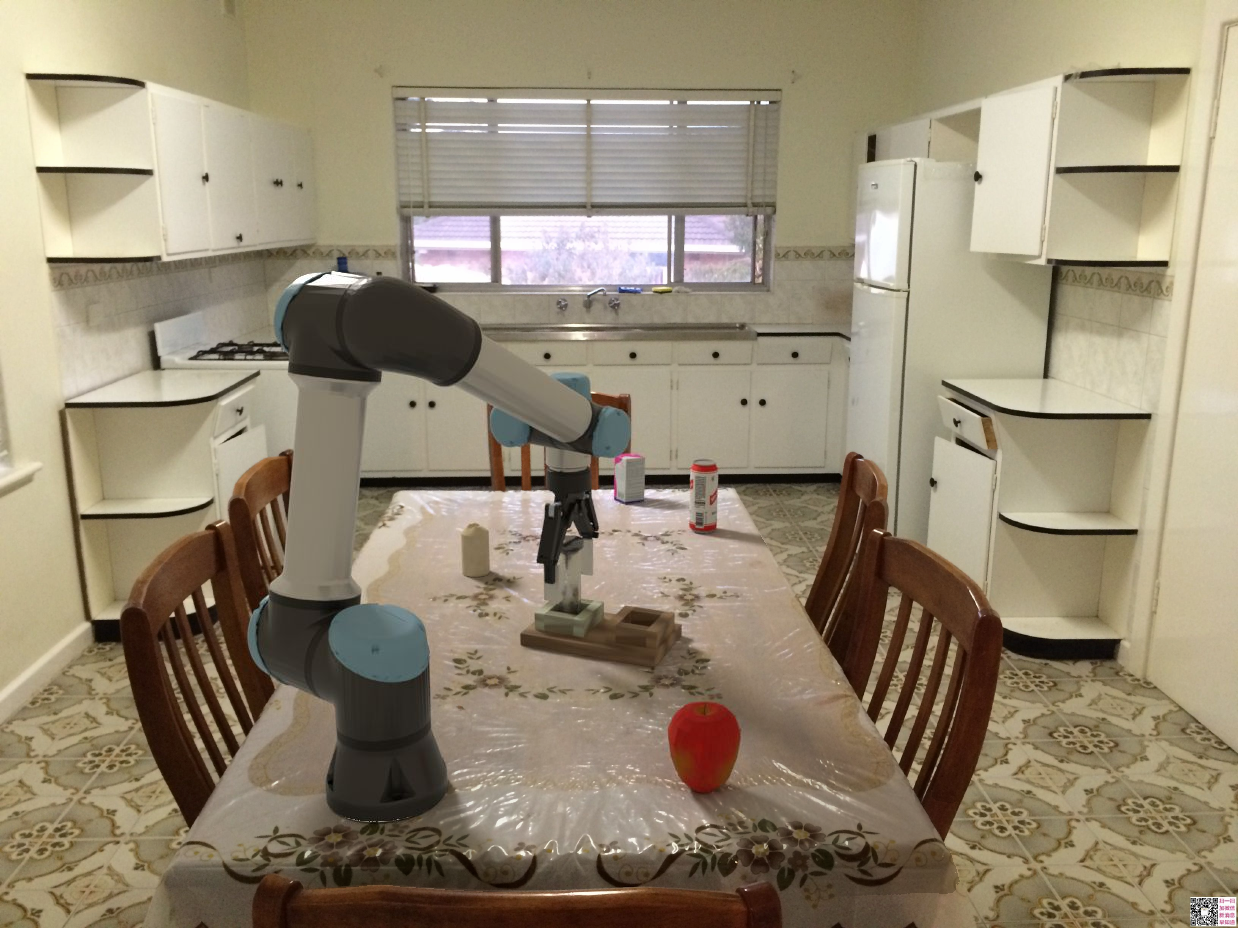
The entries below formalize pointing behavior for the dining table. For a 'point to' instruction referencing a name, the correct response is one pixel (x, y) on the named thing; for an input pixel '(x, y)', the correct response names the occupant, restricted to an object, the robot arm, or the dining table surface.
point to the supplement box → (629, 478)
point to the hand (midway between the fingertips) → (569, 586)
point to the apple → (704, 744)
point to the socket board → (605, 632)
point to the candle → (475, 551)
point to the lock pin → (571, 575)
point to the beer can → (703, 496)
